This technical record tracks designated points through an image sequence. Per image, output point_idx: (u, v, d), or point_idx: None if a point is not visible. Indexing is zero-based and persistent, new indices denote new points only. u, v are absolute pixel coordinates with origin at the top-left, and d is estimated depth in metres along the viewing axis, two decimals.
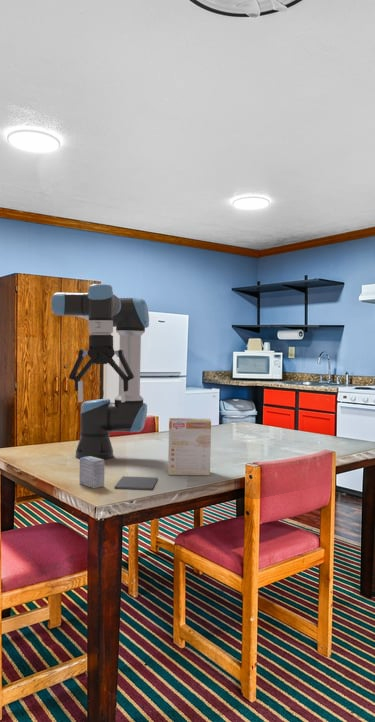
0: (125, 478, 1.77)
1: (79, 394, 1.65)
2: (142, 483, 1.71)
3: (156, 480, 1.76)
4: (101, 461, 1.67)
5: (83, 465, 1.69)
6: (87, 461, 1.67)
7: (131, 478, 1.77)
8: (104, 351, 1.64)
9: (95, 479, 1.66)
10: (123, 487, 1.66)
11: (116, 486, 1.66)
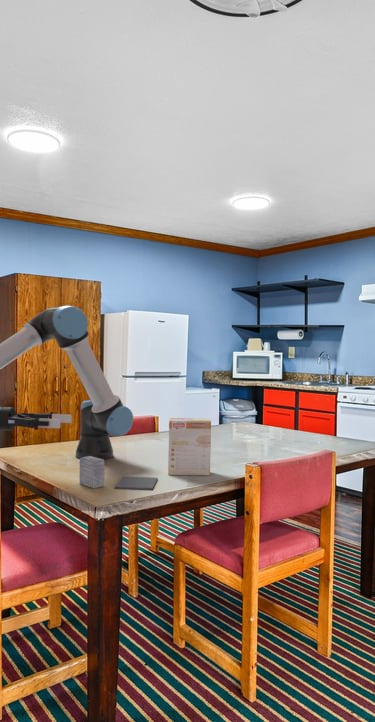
0: (125, 478, 1.77)
1: None
2: (142, 483, 1.71)
3: (156, 480, 1.76)
4: (101, 461, 1.67)
5: (83, 465, 1.69)
6: (87, 461, 1.67)
7: (131, 478, 1.77)
8: None
9: (95, 479, 1.66)
10: (123, 487, 1.66)
11: (116, 486, 1.66)
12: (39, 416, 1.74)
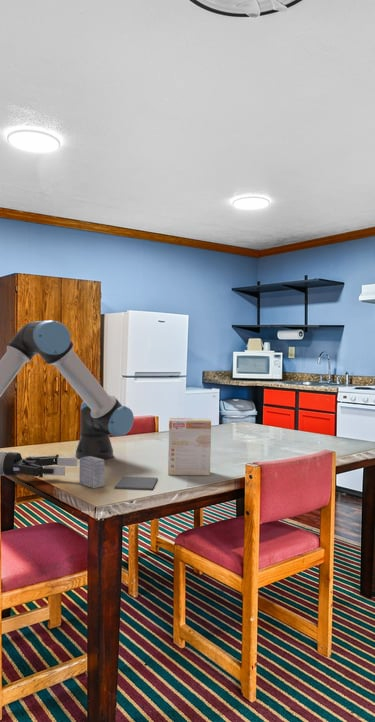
0: (125, 478, 1.77)
1: None
2: (142, 483, 1.71)
3: (156, 480, 1.76)
4: (101, 461, 1.67)
5: (83, 465, 1.69)
6: (87, 461, 1.67)
7: (131, 478, 1.77)
8: None
9: (95, 479, 1.66)
10: (123, 487, 1.66)
11: (116, 486, 1.66)
12: (45, 460, 1.74)
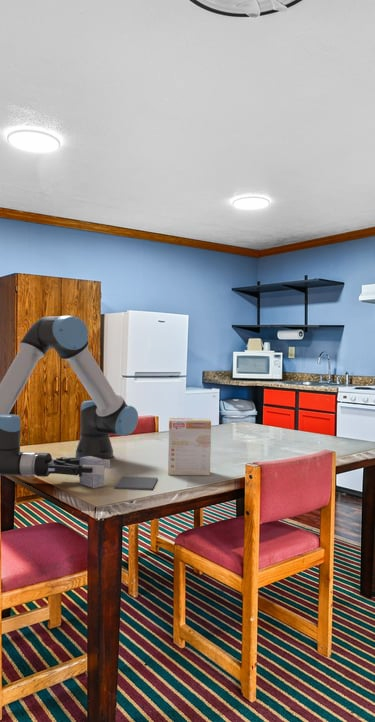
0: (125, 478, 1.77)
1: None
2: (142, 483, 1.71)
3: (156, 480, 1.76)
4: (101, 461, 1.67)
5: None
6: (87, 461, 1.67)
7: (131, 478, 1.77)
8: None
9: (95, 479, 1.66)
10: (123, 487, 1.66)
11: (116, 486, 1.66)
12: (75, 461, 1.73)
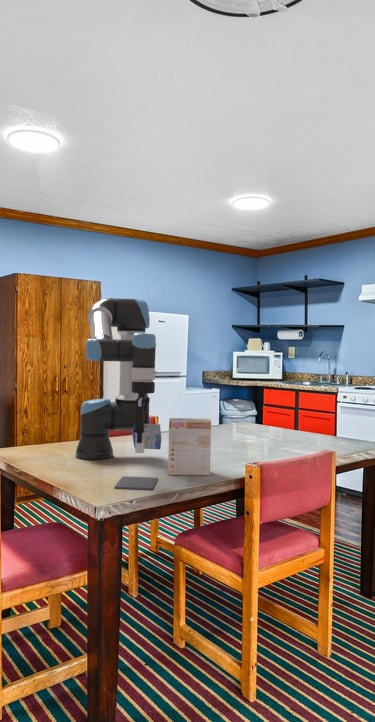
0: (125, 478, 1.77)
1: None
2: (142, 483, 1.71)
3: (156, 480, 1.76)
4: None
5: None
6: None
7: (131, 478, 1.77)
8: (147, 395, 1.73)
9: None
10: (123, 487, 1.66)
11: (116, 486, 1.66)
12: None
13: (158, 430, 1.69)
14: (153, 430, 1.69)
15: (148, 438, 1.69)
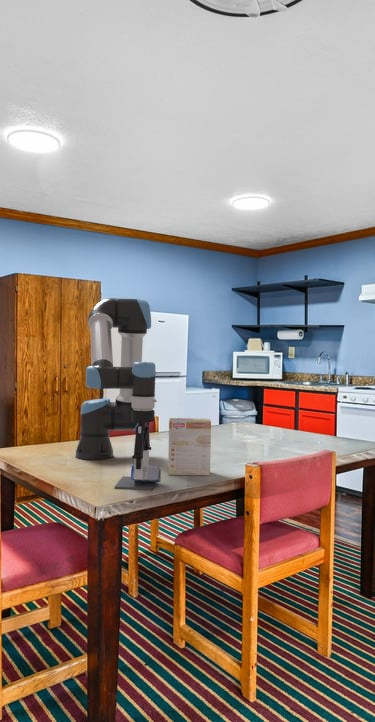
0: (125, 478, 1.77)
1: (142, 471, 1.66)
2: (142, 483, 1.71)
3: None
4: None
5: None
6: None
7: None
8: (146, 425, 1.73)
9: None
10: (123, 487, 1.66)
11: (116, 486, 1.66)
12: None
13: (156, 474, 1.66)
14: (151, 474, 1.66)
15: (147, 480, 1.68)
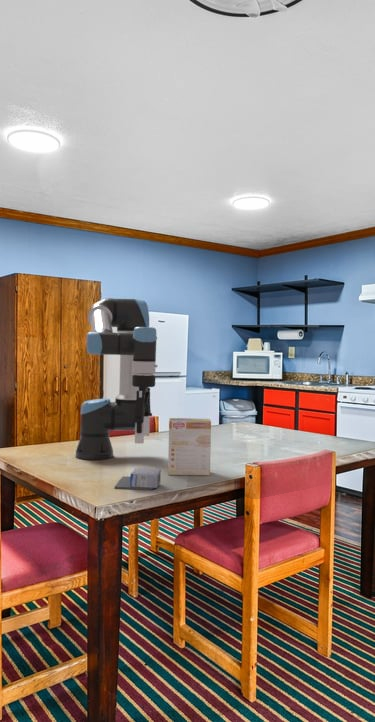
0: (125, 478, 1.77)
1: (143, 435, 1.66)
2: None
3: None
4: None
5: (138, 471, 1.68)
6: (134, 470, 1.70)
7: None
8: (147, 390, 1.73)
9: None
10: (123, 487, 1.66)
11: (116, 486, 1.66)
12: None
13: (156, 482, 1.65)
14: (151, 482, 1.65)
15: None
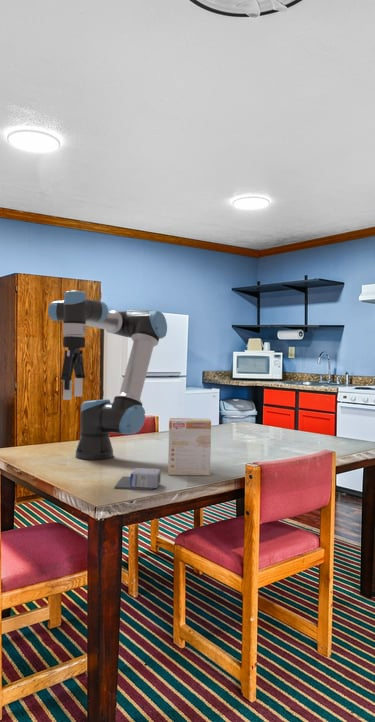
0: (125, 478, 1.77)
1: (71, 392, 1.75)
2: None
3: None
4: None
5: (138, 471, 1.68)
6: (134, 470, 1.70)
7: None
8: (78, 351, 1.82)
9: None
10: (123, 487, 1.66)
11: (116, 486, 1.66)
12: None
13: (156, 482, 1.65)
14: (151, 482, 1.65)
15: None
